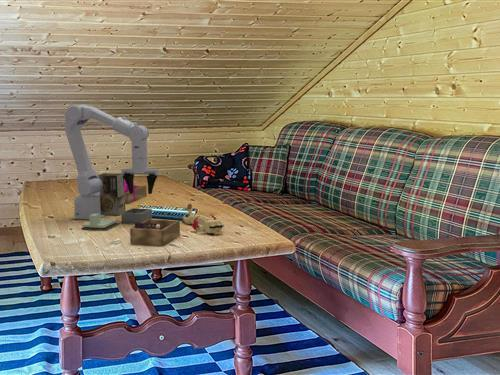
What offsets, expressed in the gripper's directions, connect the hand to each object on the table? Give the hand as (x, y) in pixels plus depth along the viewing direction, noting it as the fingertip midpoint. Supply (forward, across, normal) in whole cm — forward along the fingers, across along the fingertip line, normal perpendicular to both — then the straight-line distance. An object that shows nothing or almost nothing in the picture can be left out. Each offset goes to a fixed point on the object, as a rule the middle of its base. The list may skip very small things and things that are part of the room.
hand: (140, 193), depth 234 cm
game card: (+11, +16, -32) cm, 38 cm away
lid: (+9, -10, -14) cm, 20 cm away
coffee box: (+11, -17, +10) cm, 22 cm away
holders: (+10, -5, +8) cm, 14 cm away
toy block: (+10, -26, +42) cm, 50 cm away
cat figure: (+11, +27, -9) cm, 31 cm away
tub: (+10, -1, -2) cm, 11 cm away
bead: (+10, -1, 0) cm, 10 cm away
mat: (+10, -10, -14) cm, 20 cm away
